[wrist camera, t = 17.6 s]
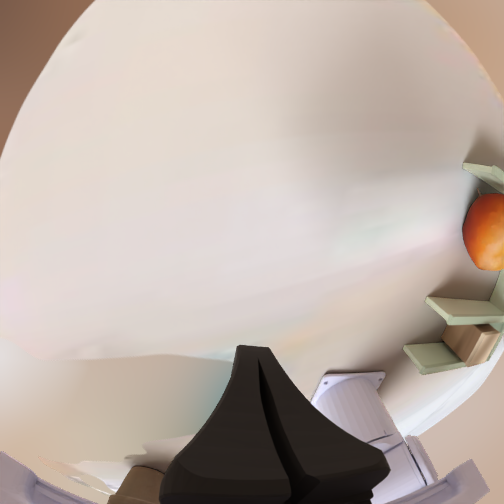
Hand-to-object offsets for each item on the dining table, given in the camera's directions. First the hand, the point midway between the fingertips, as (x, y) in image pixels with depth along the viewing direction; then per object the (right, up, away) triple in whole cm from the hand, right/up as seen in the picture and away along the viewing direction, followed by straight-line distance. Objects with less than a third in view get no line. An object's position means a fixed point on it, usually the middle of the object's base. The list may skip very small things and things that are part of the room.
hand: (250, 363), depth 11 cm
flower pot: (-18, -33, +21) cm, 44 cm away
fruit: (+23, +8, +10) cm, 27 cm away
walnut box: (+25, -4, +14) cm, 29 cm away
